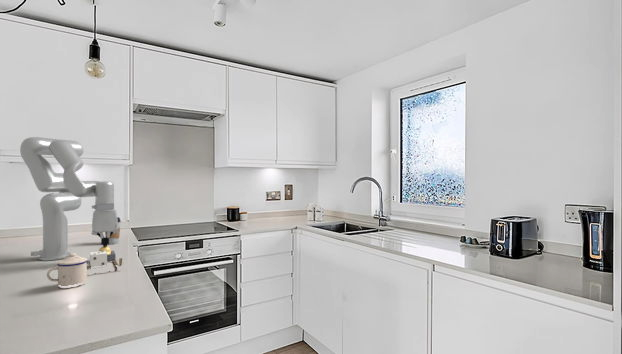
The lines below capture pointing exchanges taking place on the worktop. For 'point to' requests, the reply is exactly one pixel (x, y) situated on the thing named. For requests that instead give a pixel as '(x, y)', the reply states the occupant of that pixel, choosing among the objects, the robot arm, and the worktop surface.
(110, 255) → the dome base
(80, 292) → the worktop surface
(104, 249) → the dome button
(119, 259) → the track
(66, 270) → the teacup with lid
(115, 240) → the coffee cup
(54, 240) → the robot arm
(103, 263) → the die
